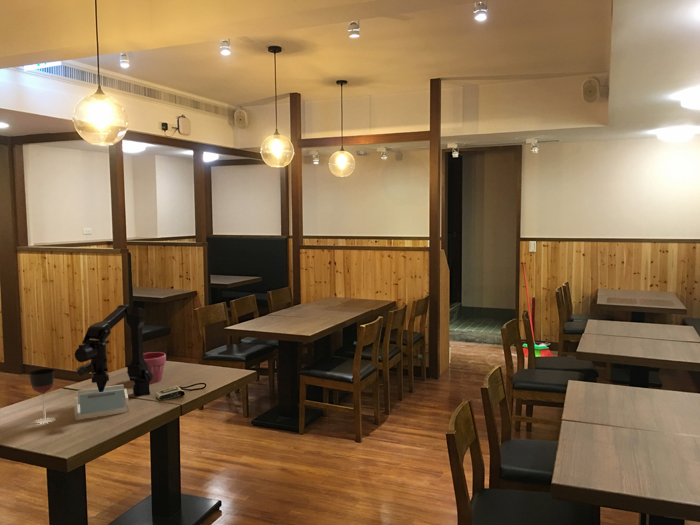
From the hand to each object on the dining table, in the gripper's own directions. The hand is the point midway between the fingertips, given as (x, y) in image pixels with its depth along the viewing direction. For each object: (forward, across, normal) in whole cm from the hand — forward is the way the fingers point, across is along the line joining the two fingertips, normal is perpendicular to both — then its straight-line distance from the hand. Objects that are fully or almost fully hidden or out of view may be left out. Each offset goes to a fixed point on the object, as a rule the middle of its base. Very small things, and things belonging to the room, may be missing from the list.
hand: (101, 393), depth 229 cm
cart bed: (+9, -5, 0) cm, 10 cm away
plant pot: (+9, -40, +23) cm, 47 cm away
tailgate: (+6, +2, 0) cm, 7 cm away
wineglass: (+9, -3, -21) cm, 23 cm away
